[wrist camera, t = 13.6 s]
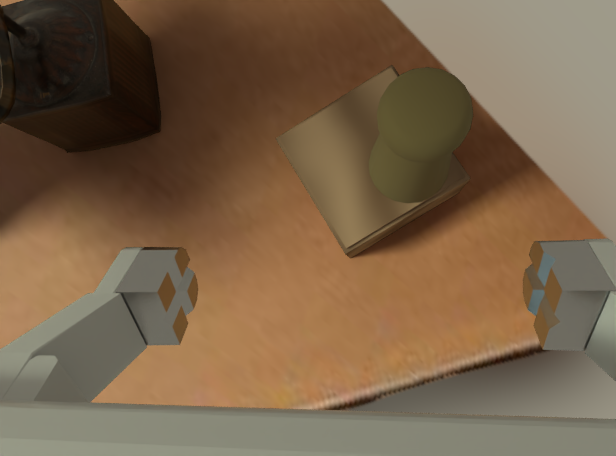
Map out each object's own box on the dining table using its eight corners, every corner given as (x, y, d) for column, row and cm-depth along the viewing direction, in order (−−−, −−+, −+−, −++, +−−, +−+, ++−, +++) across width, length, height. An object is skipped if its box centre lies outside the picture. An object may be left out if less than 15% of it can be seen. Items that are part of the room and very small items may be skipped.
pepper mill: (55, 62, 48) (-134, -67, 31) (152, 36, 47) (13, -114, 29) (67, 204, 46) (-129, 154, 28) (170, 182, 44) (30, 115, 27)
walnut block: (350, 258, 41) (344, 253, 35) (289, 157, 43) (274, 137, 37) (458, 193, 40) (471, 177, 34) (390, 93, 42) (392, 62, 36)
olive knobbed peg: (451, 127, 35) (489, 49, 24) (448, 205, 34) (486, 160, 23) (370, 125, 36) (373, 47, 25) (365, 200, 35) (366, 155, 24)
